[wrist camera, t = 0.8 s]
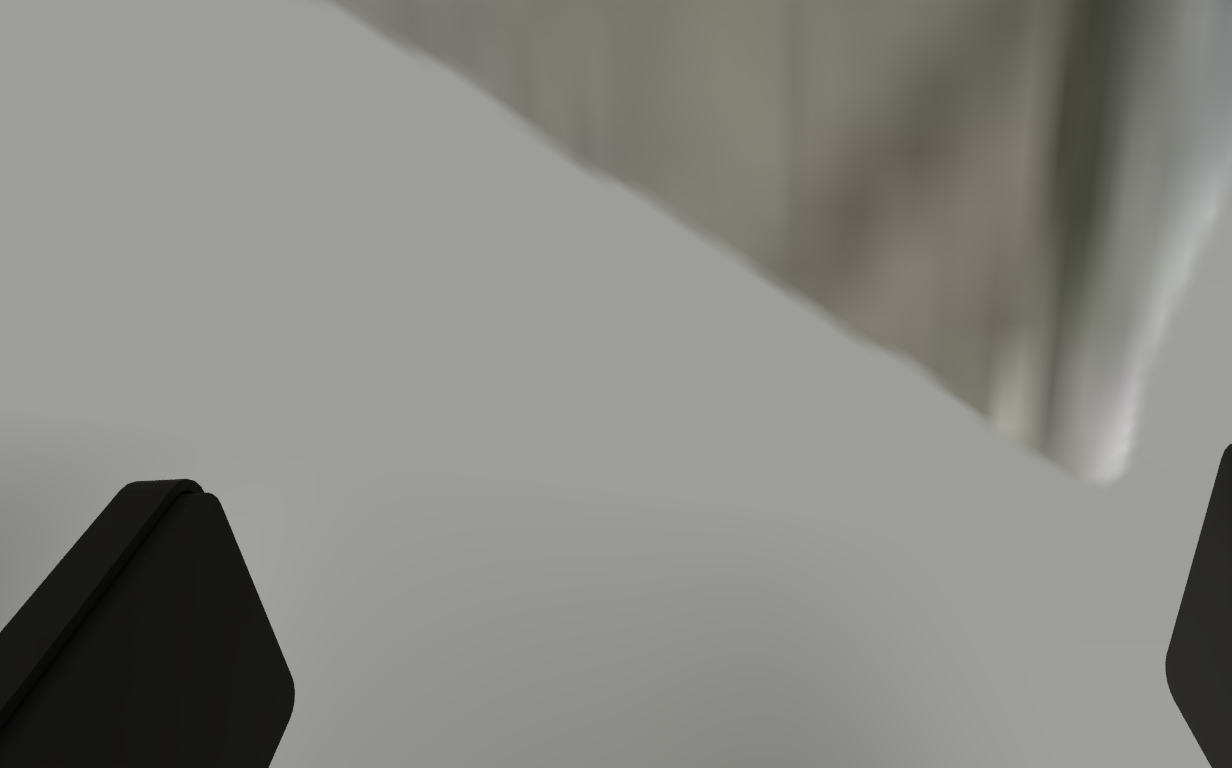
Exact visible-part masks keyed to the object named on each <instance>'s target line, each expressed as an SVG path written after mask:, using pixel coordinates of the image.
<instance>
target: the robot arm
mask: <svg viewBox="0 0 1232 768" xmlns="http://www.w3.org/2000/svg"><path fill="white" fill-rule="evenodd" d="M1165 663H1166V676H1167V682H1168V685H1169V689H1170V692H1171V694H1172V696H1173V699H1174V701H1175V702H1176V704H1177V706H1178V708H1179V710H1180V711H1181V713H1182V715H1183V717H1184V719H1185V720H1186V722H1187V724H1188V726H1189V728H1190V729H1191V731H1192V733H1193V735H1194V736H1195V738H1196V740H1197V742H1198V744H1199V746H1200V747H1201V749H1202V751H1203V753H1204V754H1205V756H1206V758H1207V760H1208V762H1209V763H1210V765H1211V767H1212V768H1232V444H1230V445H1229V446H1228V447H1227V448H1226V449H1225V451H1224V453H1223V456H1222V458H1221V462H1220V465H1219V469H1218V473H1217V476H1216V480H1215V484H1214V487H1213V491H1212V494H1211V498H1210V501H1209V505H1208V508H1207V513H1206V516H1205V520H1204V523H1203V526H1202V530H1201V534H1200V537H1199V541H1198V544H1197V548H1196V551H1195V555H1194V559H1193V562H1192V566H1191V569H1190V573H1189V577H1188V580H1187V584H1186V587H1185V591H1184V595H1183V598H1182V602H1181V605H1180V609H1179V612H1178V616H1177V619H1176V623H1175V627H1174V630H1173V634H1172V638H1171V641H1170V644H1169V648H1168V652H1167V656H1166V662H1165ZM294 697H295V689H294V682H293V679H292V676H291V674H290V671H289V669H288V666H287V664H286V661H285V659H284V656H283V654H282V651H281V649H280V647H279V644H278V642H277V639H276V637H275V634H274V632H273V629H272V627H271V625H270V622H269V620H268V617H267V615H266V612H265V610H264V608H263V605H262V603H261V600H260V598H259V595H258V593H257V591H256V588H255V586H254V583H253V581H252V578H251V576H250V574H249V571H248V569H247V566H246V564H245V561H244V559H243V556H242V554H241V552H240V549H239V547H238V544H237V542H236V540H235V537H234V535H233V532H232V530H231V527H230V525H229V522H228V520H227V518H226V515H225V513H224V510H223V508H222V506H221V503H220V502H219V500H218V498H217V497H216V496H214V495H213V494H210V493H204V491H203V489H202V487H201V486H200V485H199V484H198V483H196V482H195V481H193V480H189V479H176V480H158V481H157V480H156V481H136V482H133V483H130V484H127V485H126V486H125V487H124V488H122V489H121V490H120V491H119V492H118V494H117V495H116V496H115V497H114V498H113V499H112V501H111V502H110V503H109V504H108V506H107V507H106V508H105V509H104V510H103V511H102V513H101V514H100V515H99V516H98V517H97V519H96V520H95V521H94V522H93V523H92V524H91V525H90V527H89V528H88V529H87V530H86V531H85V533H84V534H83V535H82V536H81V537H80V539H79V540H78V541H77V542H76V543H75V544H74V546H73V547H72V548H71V549H70V550H69V552H68V553H67V554H66V555H65V556H64V558H63V559H62V560H61V561H60V562H59V564H58V565H57V566H56V567H55V568H54V569H53V571H52V572H51V573H50V574H49V575H48V576H47V578H46V579H45V580H44V581H43V582H42V584H41V585H40V586H39V587H38V588H37V589H36V591H35V592H34V593H33V594H32V596H31V597H30V598H29V599H28V600H27V601H26V603H25V604H24V605H23V606H22V607H21V609H20V610H19V611H18V612H17V613H16V615H15V616H14V617H13V618H12V619H11V620H10V622H9V623H8V624H7V625H6V626H5V627H4V629H3V630H2V631H1V632H0V768H269V765H270V763H271V761H272V759H273V756H274V754H275V752H276V749H277V747H278V745H279V743H280V740H281V738H282V736H283V733H284V731H285V729H286V727H287V724H288V722H289V720H290V717H291V714H292V711H293V706H294Z"/></svg>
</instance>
